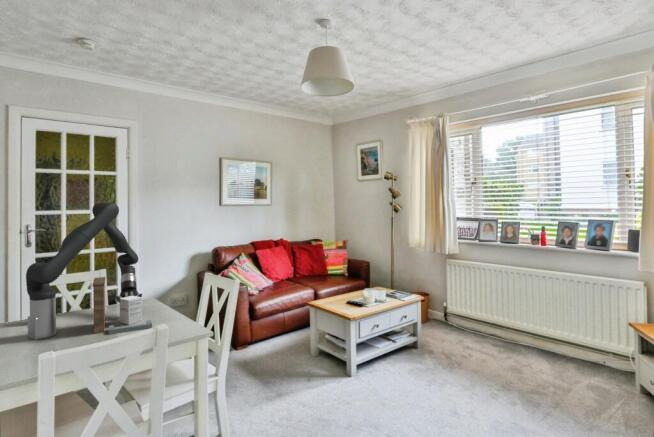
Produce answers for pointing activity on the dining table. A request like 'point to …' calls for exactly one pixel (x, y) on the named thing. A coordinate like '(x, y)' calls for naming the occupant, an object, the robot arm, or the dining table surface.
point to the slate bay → (130, 328)
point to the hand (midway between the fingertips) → (129, 311)
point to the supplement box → (130, 310)
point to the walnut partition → (99, 304)
